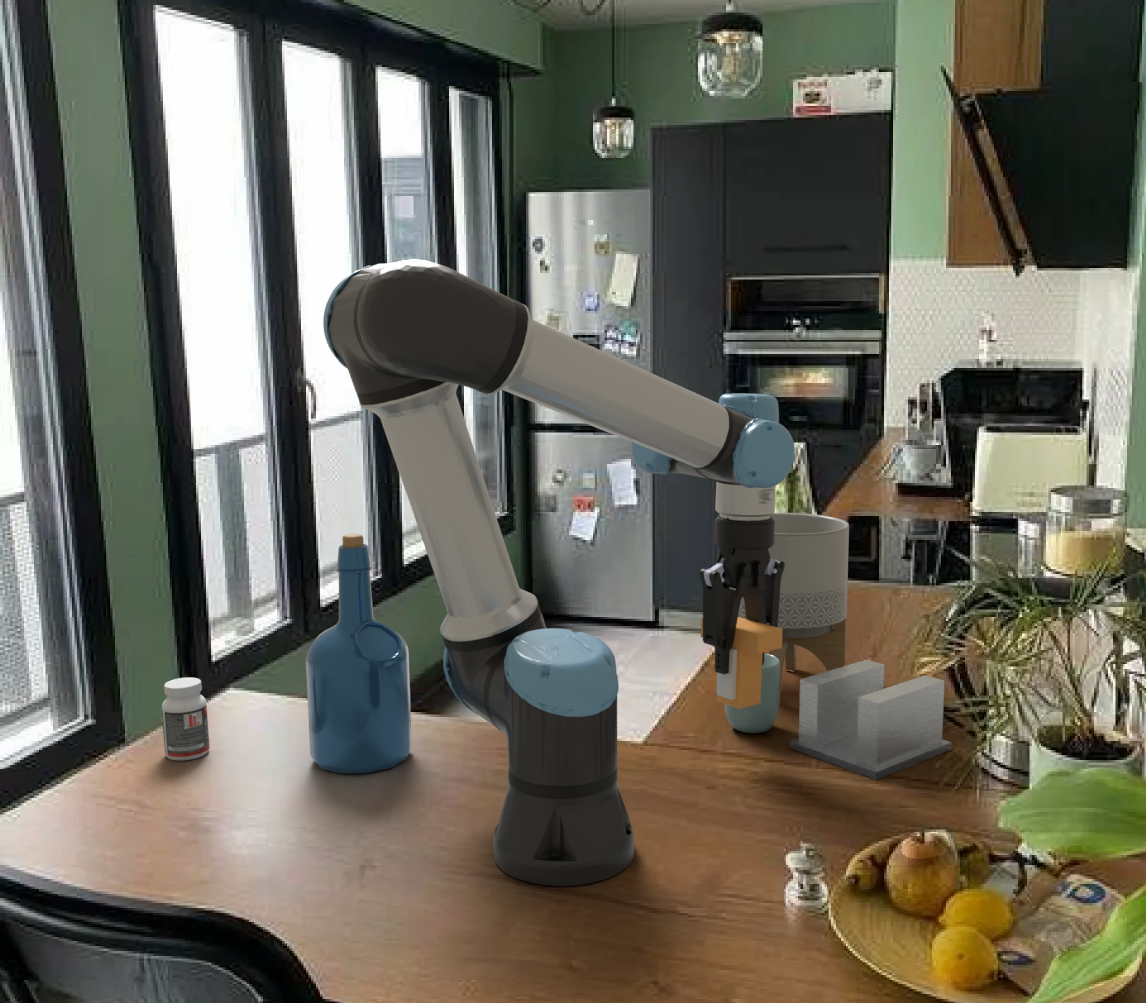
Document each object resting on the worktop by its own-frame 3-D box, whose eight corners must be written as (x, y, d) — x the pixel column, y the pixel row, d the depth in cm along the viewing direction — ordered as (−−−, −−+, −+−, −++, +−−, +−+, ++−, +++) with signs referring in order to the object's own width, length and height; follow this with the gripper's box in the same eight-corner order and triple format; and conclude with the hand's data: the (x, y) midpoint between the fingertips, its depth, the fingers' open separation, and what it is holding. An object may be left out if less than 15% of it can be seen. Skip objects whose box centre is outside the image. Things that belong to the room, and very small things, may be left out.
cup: (778, 740, 155) (779, 669, 153) (721, 736, 156) (721, 666, 155) (780, 720, 162) (781, 653, 161) (725, 717, 164) (725, 650, 162)
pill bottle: (217, 753, 152) (213, 682, 151) (178, 765, 148) (173, 692, 147) (196, 743, 156) (191, 673, 155) (157, 754, 152) (152, 683, 151)
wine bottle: (290, 759, 150) (279, 536, 145) (371, 733, 159) (363, 522, 155) (352, 787, 140) (342, 549, 136) (435, 757, 150) (428, 534, 145)
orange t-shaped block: (755, 715, 142) (758, 634, 141) (698, 695, 150) (701, 618, 149) (779, 708, 145) (782, 628, 144) (722, 689, 153) (725, 613, 151)
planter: (838, 710, 166) (842, 536, 162) (711, 698, 172) (712, 530, 168) (850, 673, 184) (854, 515, 180) (734, 663, 190) (736, 510, 186)
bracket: (875, 780, 141) (878, 706, 139) (789, 748, 152) (790, 679, 150) (951, 749, 151) (953, 680, 149) (864, 721, 161) (866, 657, 160)
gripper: (718, 525, 136) (712, 713, 139) (812, 513, 146) (804, 689, 150) (675, 517, 142) (670, 698, 145) (768, 506, 152) (762, 675, 155)
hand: (738, 693), depth 147 cm, fingers closed on orange t-shaped block, 4 cm apart
